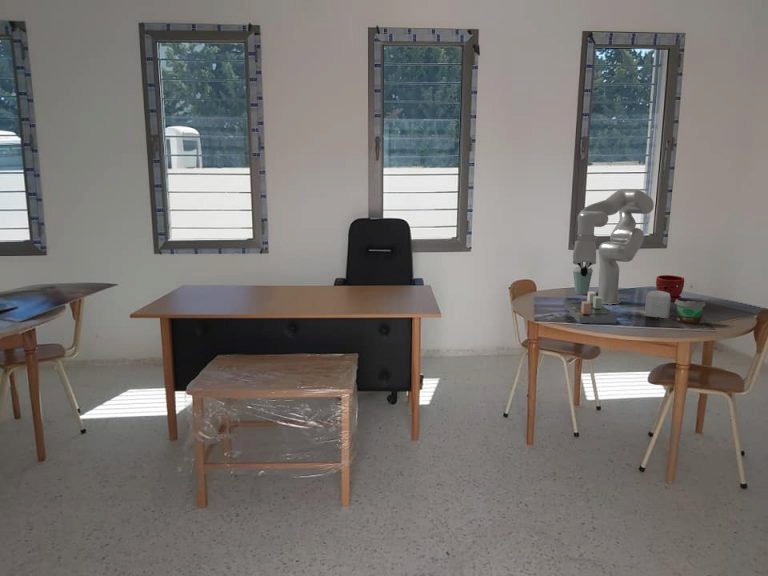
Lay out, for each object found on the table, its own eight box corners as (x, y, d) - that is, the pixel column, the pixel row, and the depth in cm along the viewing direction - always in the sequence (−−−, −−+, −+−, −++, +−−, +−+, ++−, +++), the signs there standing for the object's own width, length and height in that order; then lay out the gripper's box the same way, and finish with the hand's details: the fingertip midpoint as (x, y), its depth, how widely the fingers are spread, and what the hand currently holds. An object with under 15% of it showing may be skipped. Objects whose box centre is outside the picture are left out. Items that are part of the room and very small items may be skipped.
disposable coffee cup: (575, 295, 313) (576, 268, 310) (568, 291, 324) (569, 265, 321) (594, 295, 313) (596, 268, 310) (587, 291, 324) (588, 265, 321)
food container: (674, 323, 253) (676, 301, 251) (673, 320, 259) (674, 298, 257) (706, 325, 249) (708, 303, 247) (703, 322, 254) (705, 300, 252)
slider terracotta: (587, 311, 263) (588, 301, 262) (590, 314, 259) (590, 303, 258) (581, 311, 264) (581, 301, 263) (583, 314, 259) (584, 303, 258)
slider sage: (599, 306, 273) (599, 296, 272) (601, 308, 269) (602, 298, 268) (592, 306, 274) (593, 296, 273) (595, 308, 269) (595, 298, 268)
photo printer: (669, 317, 264) (671, 291, 262) (668, 319, 261) (670, 292, 258) (645, 314, 270) (647, 289, 268) (644, 316, 267) (645, 290, 264)
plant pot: (649, 298, 303) (650, 276, 300) (666, 296, 308) (667, 274, 306) (671, 303, 291) (673, 280, 289) (688, 300, 297) (690, 277, 294)
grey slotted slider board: (596, 306, 288) (596, 300, 288) (616, 323, 255) (616, 317, 254) (563, 306, 290) (563, 300, 289) (579, 323, 257) (579, 316, 256)
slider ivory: (593, 301, 284) (593, 291, 283) (595, 303, 280) (596, 293, 279) (587, 301, 284) (587, 291, 283) (589, 303, 280) (589, 293, 279)
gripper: (600, 237, 277) (598, 274, 281) (568, 237, 279) (566, 274, 283) (603, 239, 270) (601, 277, 273) (570, 239, 272) (569, 277, 276)
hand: (583, 275), depth 278 cm, fingers closed
